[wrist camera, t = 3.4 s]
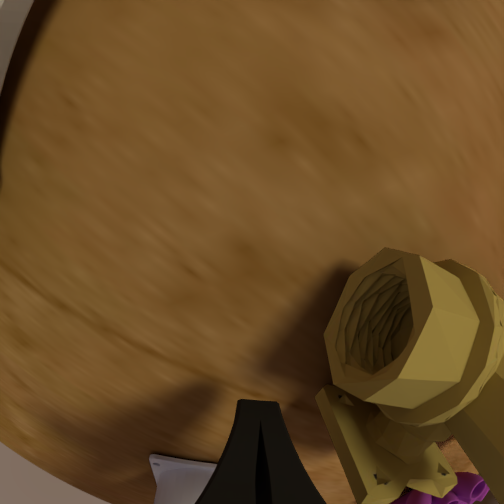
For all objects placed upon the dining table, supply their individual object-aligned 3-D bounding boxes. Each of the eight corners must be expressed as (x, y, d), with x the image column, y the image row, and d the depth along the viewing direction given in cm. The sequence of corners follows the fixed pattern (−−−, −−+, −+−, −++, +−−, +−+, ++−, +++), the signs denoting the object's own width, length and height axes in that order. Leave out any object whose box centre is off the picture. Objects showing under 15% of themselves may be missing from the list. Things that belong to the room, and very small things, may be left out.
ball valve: (368, 204, 11) (247, 399, 14) (626, 360, 1) (285, 610, 4) (505, 305, 14) (414, 427, 17) (614, 395, 5) (479, 537, 7)
